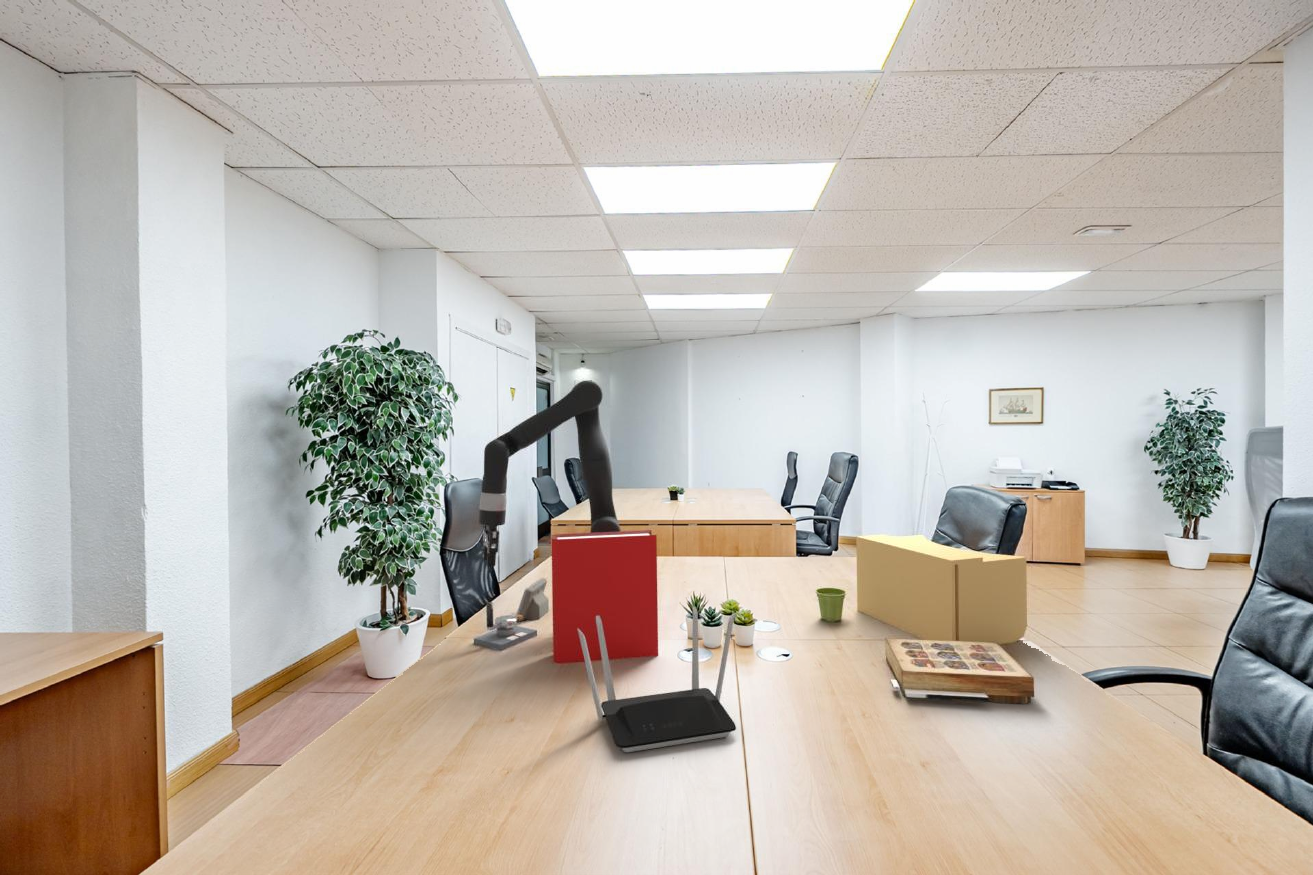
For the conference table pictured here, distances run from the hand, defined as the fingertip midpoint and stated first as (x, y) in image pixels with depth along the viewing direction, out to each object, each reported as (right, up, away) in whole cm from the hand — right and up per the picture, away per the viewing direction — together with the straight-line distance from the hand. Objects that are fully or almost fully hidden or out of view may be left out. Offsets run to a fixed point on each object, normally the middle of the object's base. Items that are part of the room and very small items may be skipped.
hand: (489, 563), depth 176 cm
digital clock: (+8, -21, +21) cm, 31 cm away
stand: (+6, -21, -3) cm, 22 cm away
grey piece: (+5, -17, -3) cm, 18 cm away
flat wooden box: (+117, -21, -37) cm, 124 cm away
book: (+35, -21, -16) cm, 44 cm away
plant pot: (+104, -20, +12) cm, 106 cm away
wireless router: (+50, -21, -53) cm, 76 cm away
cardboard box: (+133, -20, +6) cm, 135 cm away
